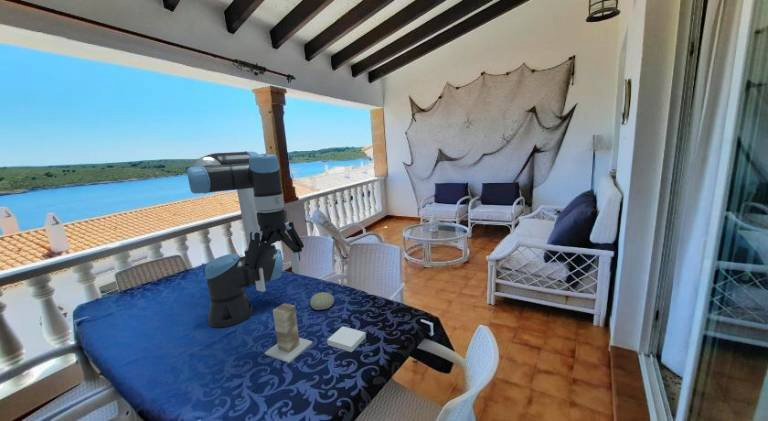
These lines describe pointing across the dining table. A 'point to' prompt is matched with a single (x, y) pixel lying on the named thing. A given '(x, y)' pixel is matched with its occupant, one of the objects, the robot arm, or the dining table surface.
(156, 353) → the dining table surface
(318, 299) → the sea urchin shell
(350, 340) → the tile
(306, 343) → the mat
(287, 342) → the beige rectangular block
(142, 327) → the dining table surface
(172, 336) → the dining table surface
